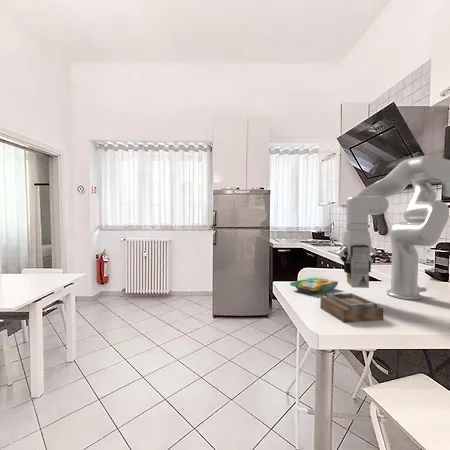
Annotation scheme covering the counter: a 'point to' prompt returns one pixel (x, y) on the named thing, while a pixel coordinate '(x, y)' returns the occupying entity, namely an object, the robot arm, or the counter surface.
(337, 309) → the plinth
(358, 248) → the coffee box
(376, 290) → the counter surface
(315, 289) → the puzzle game
